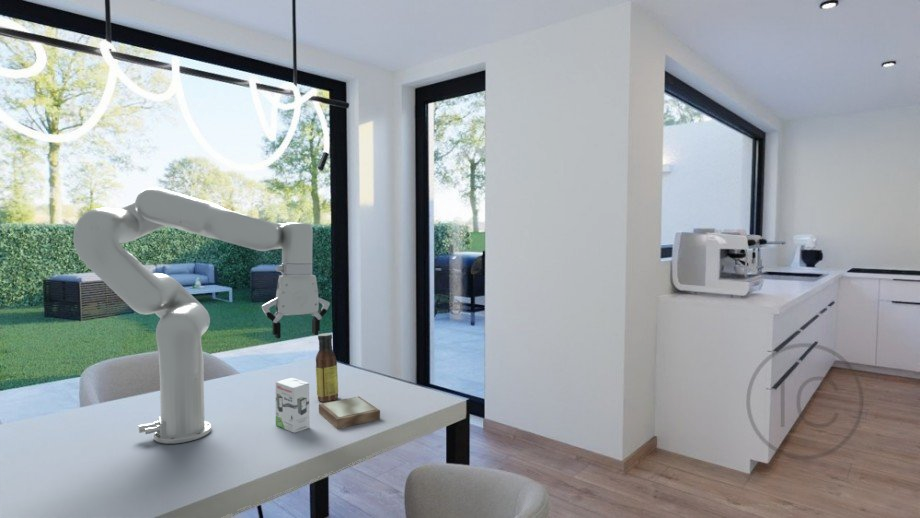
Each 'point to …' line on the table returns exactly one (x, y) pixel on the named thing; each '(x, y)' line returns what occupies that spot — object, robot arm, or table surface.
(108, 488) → the table surface
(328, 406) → the wooden tray
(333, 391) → the sauce bottle
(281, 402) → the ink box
